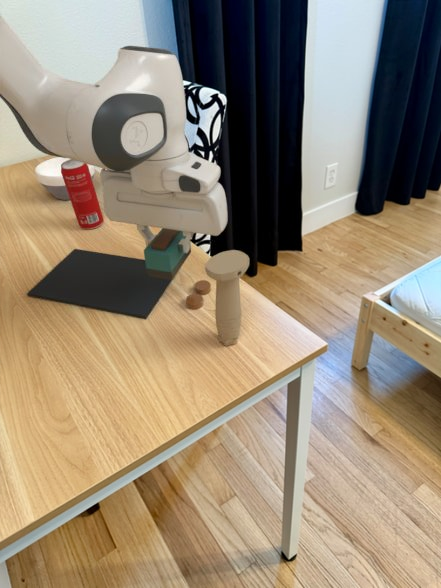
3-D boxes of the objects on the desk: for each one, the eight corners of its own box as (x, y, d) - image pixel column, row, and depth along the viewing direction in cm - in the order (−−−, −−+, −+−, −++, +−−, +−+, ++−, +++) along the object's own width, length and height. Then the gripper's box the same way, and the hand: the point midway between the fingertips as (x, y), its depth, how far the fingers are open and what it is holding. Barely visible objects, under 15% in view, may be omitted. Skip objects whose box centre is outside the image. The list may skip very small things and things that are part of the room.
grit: (192, 294, 78) (192, 288, 78) (197, 284, 81) (196, 279, 80) (208, 296, 78) (208, 290, 77) (212, 286, 80) (212, 281, 79)
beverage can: (109, 221, 101) (96, 159, 92) (88, 234, 97) (72, 169, 87) (91, 216, 103) (76, 154, 94) (70, 227, 99) (53, 164, 90)
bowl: (57, 211, 106) (48, 182, 101) (34, 193, 115) (25, 165, 110) (109, 193, 113) (103, 165, 109) (83, 177, 122) (77, 151, 117)
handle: (253, 337, 69) (256, 259, 60) (224, 357, 66) (221, 278, 56) (233, 323, 72) (232, 246, 62) (203, 341, 68) (198, 263, 59)
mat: (27, 296, 79) (26, 293, 79) (75, 251, 91) (74, 248, 91) (146, 319, 73) (145, 316, 73) (180, 267, 85) (180, 265, 85)
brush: (147, 275, 72) (142, 246, 68) (168, 248, 78) (165, 220, 75) (172, 280, 71) (169, 250, 67) (191, 252, 77) (189, 223, 74)
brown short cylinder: (183, 307, 75) (183, 302, 75) (190, 297, 78) (189, 292, 77) (199, 310, 74) (199, 305, 74) (205, 300, 77) (205, 295, 76)
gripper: (87, 170, 64) (104, 249, 73) (217, 184, 59) (219, 267, 68) (108, 155, 69) (121, 231, 77) (230, 167, 64) (230, 247, 72)
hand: (168, 248), depth 72 cm, fingers closed on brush, 4 cm apart
